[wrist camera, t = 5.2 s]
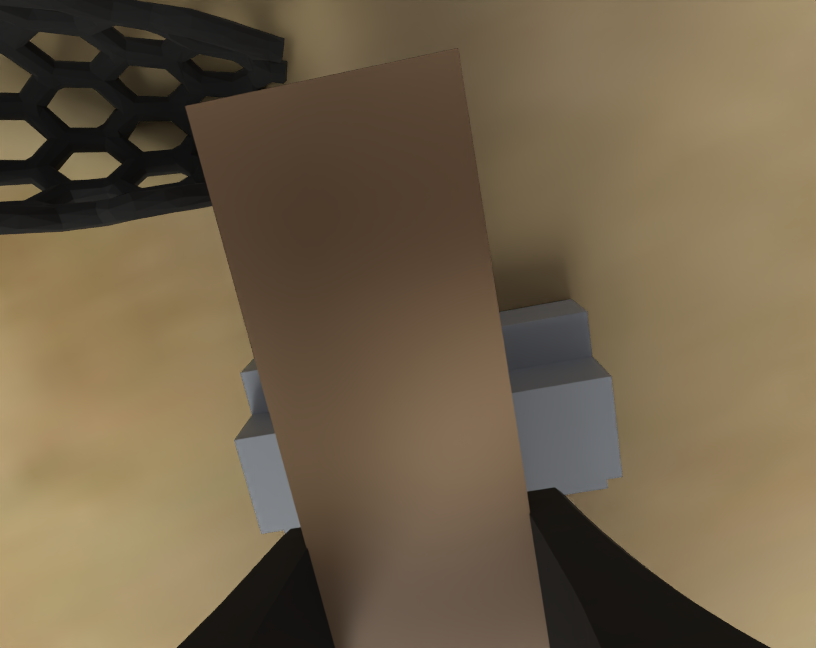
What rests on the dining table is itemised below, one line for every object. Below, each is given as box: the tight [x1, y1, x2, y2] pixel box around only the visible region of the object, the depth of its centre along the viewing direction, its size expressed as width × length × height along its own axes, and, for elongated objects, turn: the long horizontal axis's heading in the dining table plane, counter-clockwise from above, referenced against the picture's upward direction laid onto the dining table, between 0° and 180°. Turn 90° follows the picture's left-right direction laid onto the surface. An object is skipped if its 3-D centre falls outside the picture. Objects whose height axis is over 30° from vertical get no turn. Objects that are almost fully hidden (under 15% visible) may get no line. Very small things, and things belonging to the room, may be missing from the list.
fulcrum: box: [234, 299, 622, 534], centre depth 15 cm, size 5×9×3 cm, turn 101°
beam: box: [185, 48, 550, 648], centre depth 11 cm, size 16×4×4 cm, turn 11°
